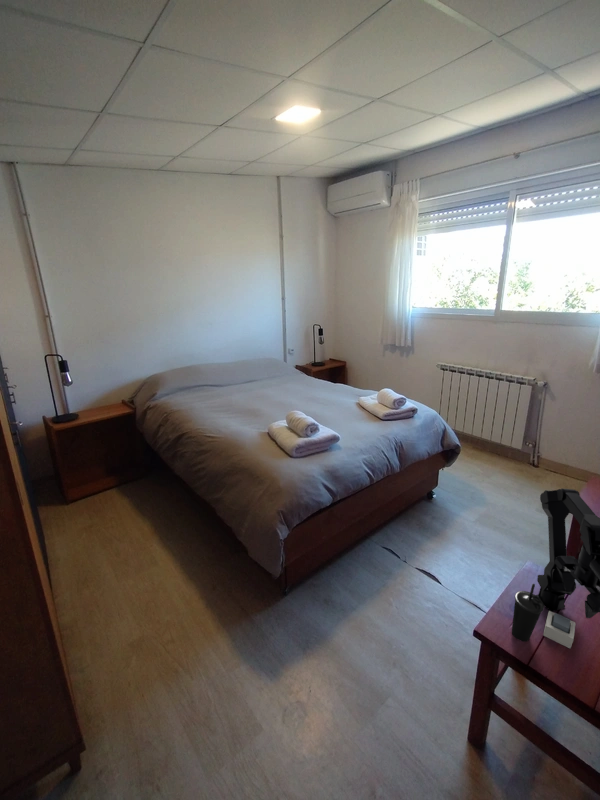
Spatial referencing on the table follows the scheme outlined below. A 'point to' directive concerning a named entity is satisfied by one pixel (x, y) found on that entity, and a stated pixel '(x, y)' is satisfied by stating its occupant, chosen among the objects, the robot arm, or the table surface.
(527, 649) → the table surface
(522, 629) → the drinking cup
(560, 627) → the button
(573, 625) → the switch box
